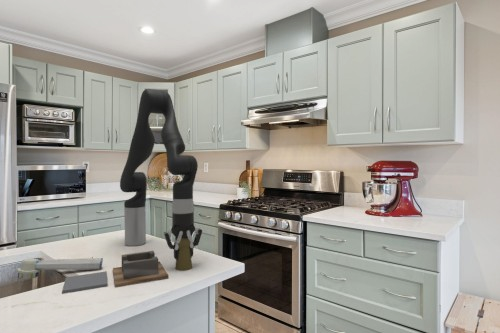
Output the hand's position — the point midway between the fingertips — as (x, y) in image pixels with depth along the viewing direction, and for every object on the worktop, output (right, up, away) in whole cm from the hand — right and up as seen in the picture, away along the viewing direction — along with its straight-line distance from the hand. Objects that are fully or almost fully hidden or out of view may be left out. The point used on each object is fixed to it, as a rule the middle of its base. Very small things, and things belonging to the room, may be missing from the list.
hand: (183, 258), depth 112 cm
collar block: (-13, -3, -6) cm, 15 cm away
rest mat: (-28, -4, -13) cm, 31 cm away
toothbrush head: (-41, -4, -5) cm, 41 cm away
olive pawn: (0, -3, 0) cm, 3 cm away
